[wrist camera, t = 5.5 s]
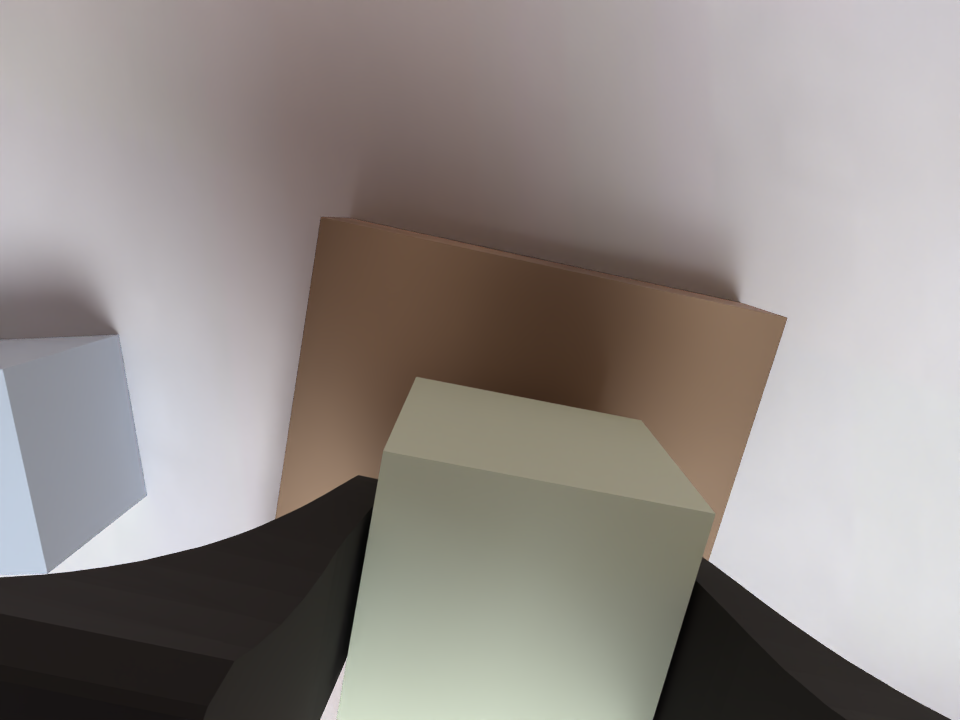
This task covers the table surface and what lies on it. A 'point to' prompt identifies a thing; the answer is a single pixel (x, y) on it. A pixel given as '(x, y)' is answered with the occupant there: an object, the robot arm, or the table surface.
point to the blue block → (63, 447)
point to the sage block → (520, 564)
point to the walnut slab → (513, 353)
